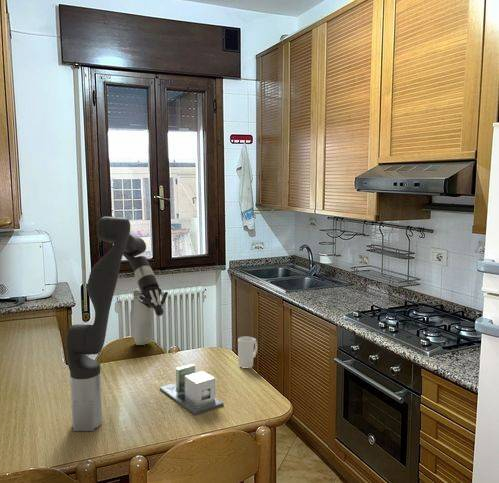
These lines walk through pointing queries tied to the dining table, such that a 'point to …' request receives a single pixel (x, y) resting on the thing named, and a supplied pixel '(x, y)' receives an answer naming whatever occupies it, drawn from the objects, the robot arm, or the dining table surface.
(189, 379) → the bearing block
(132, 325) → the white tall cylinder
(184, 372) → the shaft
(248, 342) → the mug
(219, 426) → the dining table surface
